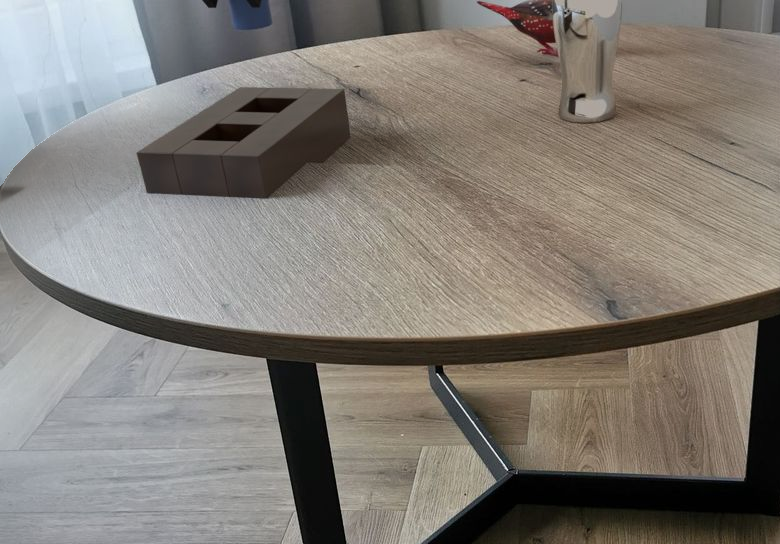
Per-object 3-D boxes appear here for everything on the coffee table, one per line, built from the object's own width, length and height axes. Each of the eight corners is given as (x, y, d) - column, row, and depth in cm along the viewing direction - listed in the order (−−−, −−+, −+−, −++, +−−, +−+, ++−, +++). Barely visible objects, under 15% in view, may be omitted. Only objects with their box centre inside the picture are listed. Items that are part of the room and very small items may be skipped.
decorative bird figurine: (599, 62, 119) (599, -23, 114) (474, 52, 126) (469, -28, 121) (608, 56, 121) (608, -28, 116) (484, 47, 128) (479, -32, 123)
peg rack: (149, 206, 85) (135, 152, 83) (248, 133, 102) (239, 86, 99) (268, 211, 83) (258, 156, 80) (351, 136, 99) (344, 88, 97)
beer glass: (634, 115, 100) (637, -38, 93) (579, 129, 97) (578, -28, 90) (594, 100, 106) (594, -46, 98) (541, 113, 103) (537, -36, 95)
